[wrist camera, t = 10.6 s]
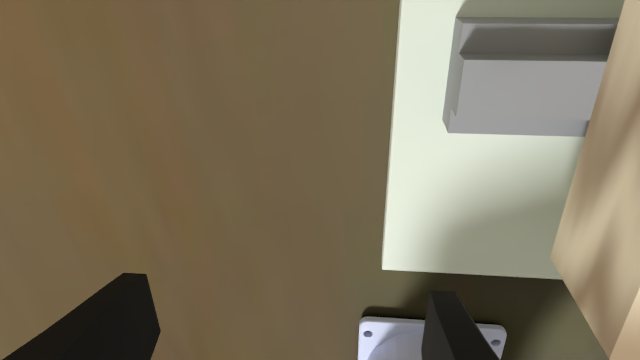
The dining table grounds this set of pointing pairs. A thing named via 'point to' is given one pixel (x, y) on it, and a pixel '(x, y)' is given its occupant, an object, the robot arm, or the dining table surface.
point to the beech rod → (608, 203)
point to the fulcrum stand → (489, 130)
